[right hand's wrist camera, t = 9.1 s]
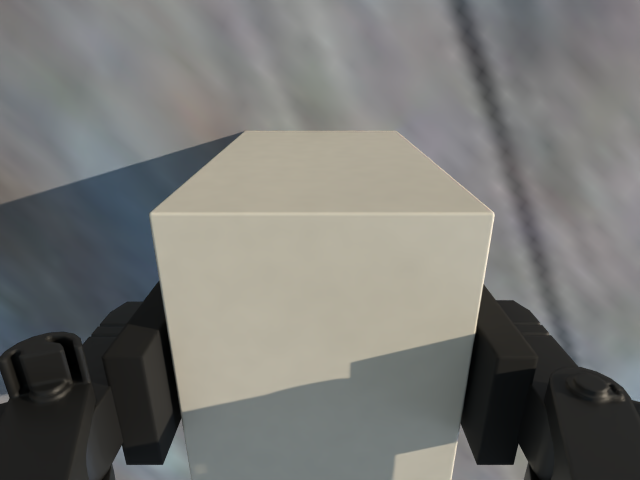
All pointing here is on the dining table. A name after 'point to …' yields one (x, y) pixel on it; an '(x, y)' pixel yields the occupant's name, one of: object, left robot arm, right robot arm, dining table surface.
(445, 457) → the brick
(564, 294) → the dining table surface
